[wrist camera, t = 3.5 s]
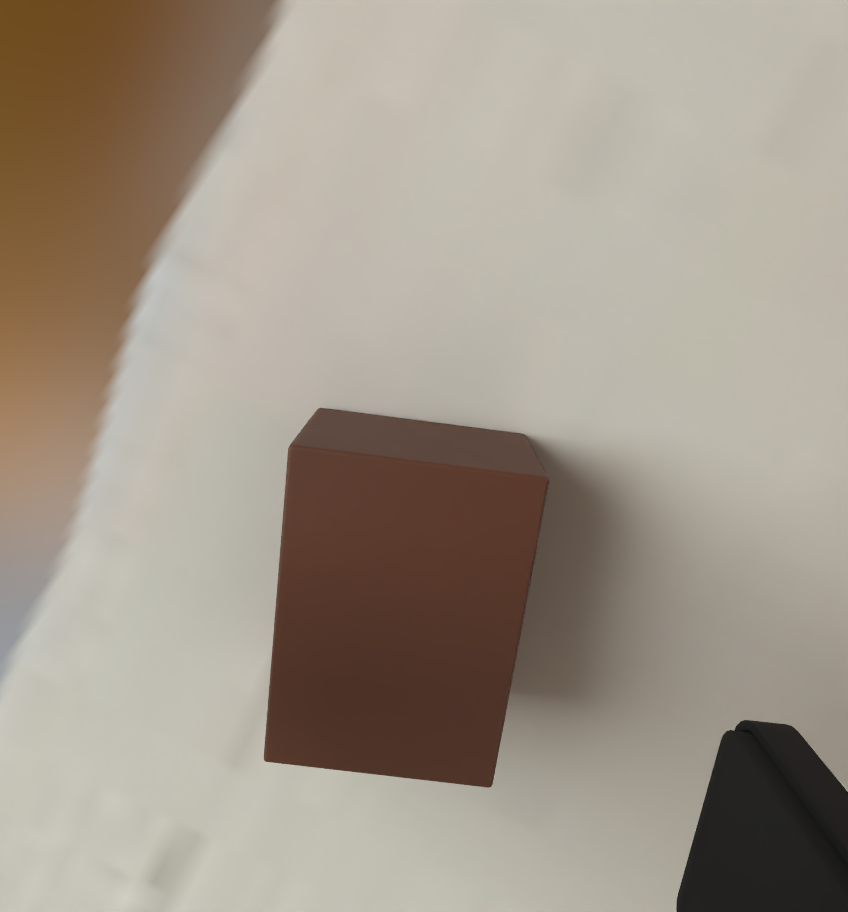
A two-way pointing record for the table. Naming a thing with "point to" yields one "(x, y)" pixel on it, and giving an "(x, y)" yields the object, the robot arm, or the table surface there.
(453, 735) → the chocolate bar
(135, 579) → the table surface
